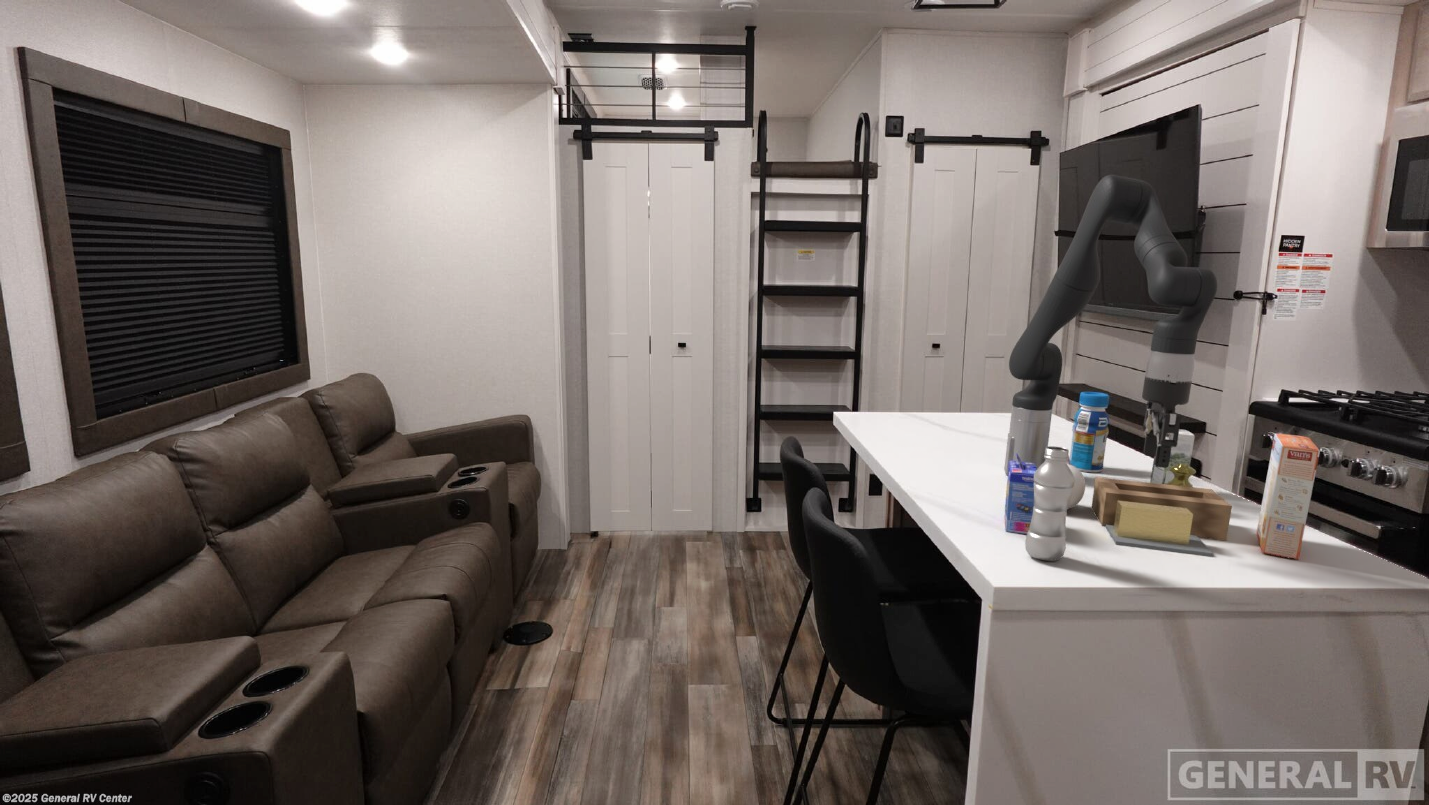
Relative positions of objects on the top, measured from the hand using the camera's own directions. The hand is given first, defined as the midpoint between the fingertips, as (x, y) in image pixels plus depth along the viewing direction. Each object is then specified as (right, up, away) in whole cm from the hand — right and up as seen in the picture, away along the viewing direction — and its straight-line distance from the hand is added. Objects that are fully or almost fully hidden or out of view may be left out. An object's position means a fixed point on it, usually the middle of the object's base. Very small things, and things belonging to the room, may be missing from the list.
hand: (1155, 461), depth 143 cm
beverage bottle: (+14, -7, +55) cm, 57 cm away
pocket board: (+7, -14, +13) cm, 20 cm away
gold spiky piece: (+19, -12, +24) cm, 33 cm away
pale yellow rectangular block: (0, -15, +3) cm, 15 cm away
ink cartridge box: (-23, -14, +8) cm, 28 cm away
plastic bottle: (-25, -17, -9) cm, 31 cm away
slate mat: (+1, -16, +2) cm, 16 cm away
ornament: (-9, -12, +21) cm, 26 cm away
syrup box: (+25, -10, +38) cm, 47 cm away
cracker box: (+24, -17, +2) cm, 30 cm away
